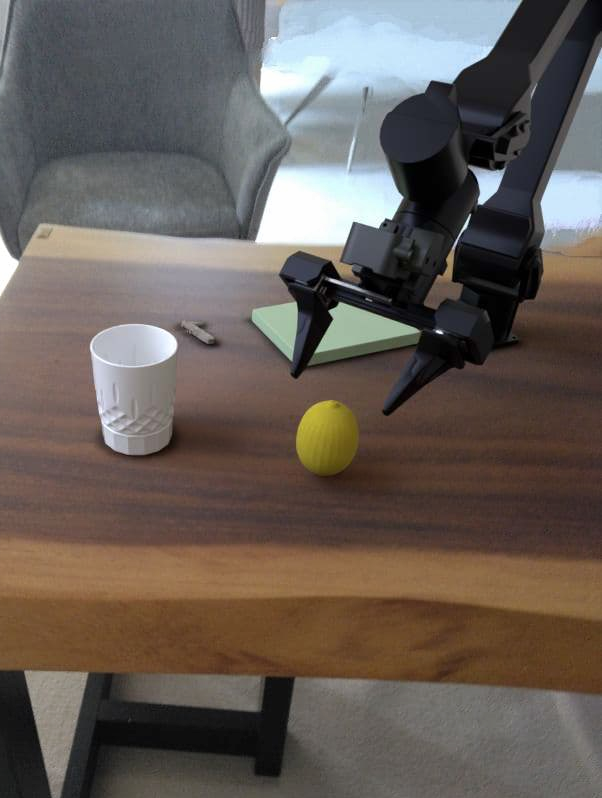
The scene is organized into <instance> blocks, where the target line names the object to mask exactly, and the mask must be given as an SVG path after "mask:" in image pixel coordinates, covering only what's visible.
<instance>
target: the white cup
mask: <svg viewBox="0 0 602 798" xmlns="http://www.w3.org/2000/svg"><path fill="white" fill-rule="evenodd" d="M89 349H90V356H91V366H92V373H93V383H94V389H95V394H96V402H97V409H98V415H99V418H100V421H101V423H100V424H101V430H102V436H103V439H104V444H105V445H106V446H108V447H109V448H110V449H112V450H113V451H114V452H117V453H121V454H124V455H127V456H146V455H150V454H153V453H157V452H159V451H161V450H162V449H163V448H165V447H167V446H168V445H169V443H170V440H171V438H172V436H173V423H174V422H173V421H174V420H173V418H174V415H175V414H174V413H175V399H176V392H177V391H176V390H177V369H178V354H179V353H178V351H179V344H178V339H177V338H176V337H175V336H174V335H173V334H172V333H171V332H169V331H168V330H166V329H164V328H161V327H158V326H154V325H150V324H143V323H142V324H141V323H127V324H119V325H115V326H112V327H108V328H106V329H104V330H102V331H100V332H99V333H97V334H96V335H94V336H93V338H92V339H91V341H90V343H89Z"/></svg>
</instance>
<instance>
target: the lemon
mask: <svg viewBox="0 0 602 798" xmlns="http://www.w3.org/2000/svg"><path fill="white" fill-rule="evenodd" d="M295 438H296V439H295V446H296V447H295V448H296V453H297V456H298V458H299V461H300V462H301V464H302V465H303V467H305V469H307V470H308V471H309V472H311V473H313V474H316V475H319V476H321V477H324V476H332V475H336V474H338V473H341V472H342V471H344V470H346V468H348V466H349V465H350V464H351V462H353V460H354V458H355V455H356V453H357V450H358V445H359V440H360V431H359V423H358V419H357V417H356V415H355V414H354V412H353V411H352V410H351V409H350V407H348V406H347V405H346V404H344V403H342V402H340V401H337V400H335V399H329V400H323V401H319V402H318V403H315V404H313V405H312V406H311V407H309V408H308V409H307V410H306V411H305V413H304V415H303V416H302V418H301V419H300V422H299V425H298V427H297V431H296V437H295Z"/></svg>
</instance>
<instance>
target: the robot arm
mask: <svg viewBox="0 0 602 798" xmlns="http://www.w3.org/2000/svg"><path fill="white" fill-rule="evenodd" d="M601 50H602V0H521V2H520V3H519V4H518V6H517V8H516V10H515V11H514V12H513V14H512V16H511V17H510V18H509V21H508V22H507V23H506V25H505V27H504V29H503V30H502V32H501V33H500V35H499V37H498V39H497V40H496V42H495V43H494V45H493V47H492V48H491V49H490V51H489V53H487V55H486V56H485V57H483V58H481V59H479V60H478V61H475V62H474V63H472V64H470V65H468V66H466V67H464V68H463V69H462V70H461V71H459V73H458V74H457V76H456V77H455V78H454V79H453V81H452V82H451V83H450V82H445V81H439V80H434V79H431V80H430V81H429V83H428V85H427V87H426V89H425V91H424V92H421V93H418V94H415V95H411V96H410V97H407V98H406V99H404V100H402V101H401V102H400V103H399V104H397V105H396V106H394V108H393V109H392V110H391V111H389V112H387V113H386V115H385V116H384V119H383V120H382V123H381V125H380V129H379V136H378V137H379V144H380V147H381V150H382V153H383V154H384V158H385V161H386V164H387V167H388V169H389V173H390V174H391V177H392V180H393V182H394V186H395V188H396V190H397V192H398V193H399V194H400V195H401V196H402V199H401V201H400V203H399V205H398V207H397V210H396V211H395V213H394V214H393V216H392V218H391V219H390V218H387V217H385V218H384V220H383V221H382V222H381V223H380V225H379V226H378V227H375V226H373V225H369V224H368V225H367V224H364V223H361V222H357V221H352V224H351V227H350V229H349V233H348V234H347V238H346V241H345V244H344V246H343V250H342V252H341V256H340V258H339V262H340V263H342V264H345V265H349V266H352V267H351V269H350V270H351V272H352V274H353V276H354V277H356V278H359V279H360V280H359V282H358V283H357V282H354V281H352V280H351V281H350V280H348V279H345V278H342V277H341V275H340V273H339V271H338V269H337V267H336V266H335V265H334V263H333V261H332V260H331V259H327V258H324V257H321V256H318V255H315V254H312V253H309V252H305V251H302V250H297V251H296V252H294V253H292V254H291V255H289V256H288V257H287V258H286V259H285V260H284V261H285V262H284V263H283V265H282V266H281V269H280V271H279V273H278V276H279V278H280V279H281V281H282V282H283V283H284V285H285V286H286V288H287V291H288V293H289V294H290V295H291V297H292V298H293V300H294V302H297V310H298V317H297V332H296V339H295V345H294V352H293V359H292V361H291V365H290V376H291V378H293V379H295V380H298V379H299V378H300V377H301V375H302V374H303V372H304V371H305V370H306V369H307V367H308V366H307V365H308V363H309V362H310V360H311V358H312V356H313V354H314V353H315V351H316V349H317V347H318V346H319V344H320V342H321V340H322V339H323V337H324V335H325V333H326V332H327V330H328V328H329V326H330V324H331V323H332V321H333V317H332V316H331V314H330V313H329V310H331V309H333V308H336V307H337V306H338V304H339V302H341V303H344V304H347V305H350V306H353V307H356V308H359V309H362V310H365V311H367V312H370V313H373V314H376V315H379V316H382V317H385V318H388V319H391V320H394V321H396V322H399V323H402V324H405V325H408V326H411V327H414V328H416V329H418V330H419V331H421V333H420V337H419V342H418V343H417V344H416V345H417V346H416V348H415V352H414V353H413V355H412V357H410V360H409V361H408V363H407V365H405V368H404V369H403V371H402V372H401V374H400V376H399V378H398V379H397V380H396V382H395V384H394V386H393V388H392V389H391V391H390V393H389V394H388V396H387V398H386V401H385V402H384V405H383V407H382V409H381V413H382V415H383V416H385V417H389V416H391V415H392V414H393V413H394V412H395V411H397V410H398V409H399V408H400V407H402V405H403V404H405V403H406V402H407V401H408V400H410V399H411V398H412V397H413V396H414V395H416V394H417V393H418V392H419V391H421V390H422V389H423V388H424V387H426V386H427V385H428V384H429V383H431V382H433V381H434V380H436V379H437V378H439V377H441V376H442V375H443V374H445V373H446V372H448V371H449V370H451V369H457V370H463V369H464V368H465V367H466V363H469V364H471V365H474V366H483V365H484V363H485V362H486V359H487V358H488V356H489V354H490V352H491V350H492V349H494V348H495V349H496V348H498V347H504V346H509V345H513V344H517V343H518V342H519V340H520V339H519V336H517V335H516V334H514V333H513V332H511V331H512V328H513V325H514V321H515V318H516V315H517V312H518V309H519V306H520V304H522V303H524V301H533V300H535V299H536V298H537V295H538V293H539V289H540V286H541V283H542V277H543V275H544V271H545V269H544V260H543V250H542V248H541V244H542V242H543V239H544V237H545V233H546V227H545V222H544V215H543V209H542V200H543V197H544V194H545V192H546V189H547V188H548V184H549V182H550V180H551V177H552V174H553V172H554V169H555V167H556V164H557V161H558V160H559V156H560V154H561V151H562V149H563V147H564V144H565V142H566V139H567V137H568V133H569V131H570V129H571V126H572V125H573V121H574V119H575V116H576V114H577V111H578V109H579V106H580V103H581V101H582V98H583V96H584V94H585V91H586V88H587V86H588V83H589V81H590V78H591V76H592V74H593V70H594V68H595V66H596V63H597V61H598V58H599V56H600V53H601ZM469 166H470V167H473V168H477V169H481V170H485V171H486V170H487V171H490V172H496V171H502V170H504V172H503V174H502V177H501V180H500V183H499V185H498V188H497V190H496V191H495V192H494V193H493V194H492V195H491V196H490V197H489V198H488V199H486V201H484V203H482V204H481V203H479V198H480V195H481V189H480V184H479V181H478V178H477V176H476V174H475V173H474V171H473V170H472V169H470V167H469ZM467 221H468V223H467ZM466 223H467V226H466V228H465V229H464V226H465V225H466ZM454 246H455V247H454ZM453 248H454V251H453V259H452V260H453V261H452V270H451V271H452V272H451V283H454V284H460V285H462V287H461V291H460V295H459V297H458V298H457V299H452V298H449V297H447V298H445V299H444V300H443V301H441V302H440V303H439V304H438V307H437V309H436V308H433V307H430V306H427V305H425V302H426V301H425V300H426V299H427V297H428V295H429V294H430V292H431V289H432V287H433V286H434V283H435V282H436V280H437V278H438V277H439V276H440V277H443V276H444V275H445V272H446V271H447V269H448V267H449V264H448V262H447V259H448V257H449V256H450V253H451V251H452V250H453ZM366 298H367V299H369V300H372V301H369V300H366Z"/></svg>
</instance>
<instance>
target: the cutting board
mask: <svg viewBox="0 0 602 798" xmlns="http://www.w3.org/2000/svg"><path fill="white" fill-rule="evenodd" d="M366 300H369V299H367V298H366ZM369 301H372V300H369ZM251 312H252V313H251V321H252V323H254V324H255V326H256V327H257V328H258V329H259V330H260V331H261V332H262V333H263V334H264V335H265V336H266V337H267V338H268V340H270V341H271V343H273V345H275V346H276V347H277V348H278V349H279V350H280V352H282V354H284V356H286V357H287V358H288V359H289V361H291V362H292V359H293V352H294V345H295V339H296V332H297V317H298V310H297V302H296V301H293V302H287V303H282V304H275V305H269V306H265V307H259V308H254V309H252V311H251ZM329 313H330V314H331V316H332V317H333V321H332V323H331V324H330V326H329V328H328V330H327V332H326V333H325V335H324V337H323V339H322V340H321V342H320V344H319V346H318V347H317V349H316V351H315V353H314V354H313V356H312V358H311V360H310V362H309V363H308V365H307V367H309V366H314V365H318V364H324V363H329V362H334V361H339V360H344V359H348V358H353V357H354V358H355V357H357V356H362V355H363V356H364V355H368V354H372V353H378V352H383V351H387V350H392V349H397V348H403V347H407V346H411V345H418V342H419V339H420V336H421V333H422V331H421V330H420V329H417V328H414V327H411V326H408V325H405V324H402V323H399V322H396V321H394V320H391V319H388V318H385V317H382V316H379V315H376V314H373V313H370V312H367V311H365V310H362V309H359V308H356V307H353V306H350V305H347V304H344V303H341V302H339V304H338V306H337V307H336V308H333V309H331V310H329Z"/></svg>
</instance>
